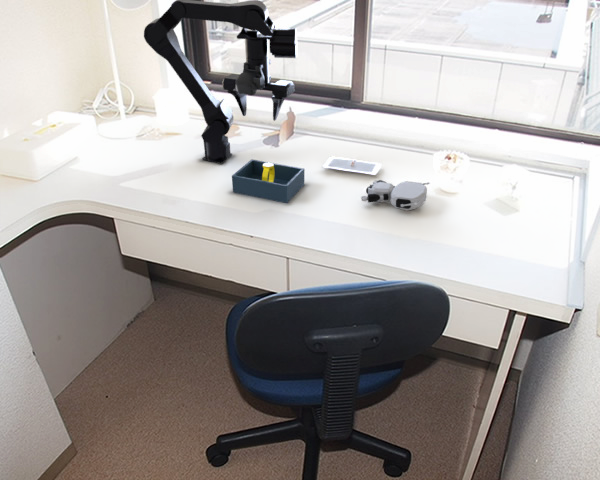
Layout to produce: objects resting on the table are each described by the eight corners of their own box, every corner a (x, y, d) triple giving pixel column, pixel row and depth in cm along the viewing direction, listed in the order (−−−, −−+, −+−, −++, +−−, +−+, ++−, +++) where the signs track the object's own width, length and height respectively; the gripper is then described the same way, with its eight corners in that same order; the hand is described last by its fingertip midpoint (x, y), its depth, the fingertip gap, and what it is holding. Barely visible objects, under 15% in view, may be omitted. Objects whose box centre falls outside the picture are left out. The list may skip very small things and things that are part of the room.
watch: (270, 192, 141) (269, 170, 137) (259, 190, 141) (258, 168, 138) (277, 182, 145) (276, 160, 142) (267, 180, 146) (266, 159, 142)
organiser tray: (232, 192, 142) (231, 175, 139) (252, 175, 150) (251, 159, 147) (287, 203, 137) (287, 186, 134) (304, 184, 145) (304, 168, 143)
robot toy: (358, 210, 136) (419, 218, 130) (358, 193, 133) (420, 201, 128) (373, 190, 145) (430, 197, 139) (373, 173, 142) (432, 180, 137)
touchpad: (375, 178, 148) (376, 171, 147) (322, 170, 152) (322, 163, 151) (381, 167, 154) (382, 160, 153) (330, 159, 158) (330, 152, 157)
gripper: (209, 61, 139) (214, 122, 148) (277, 69, 133) (278, 132, 142) (230, 50, 147) (234, 110, 156) (295, 58, 141) (295, 119, 150)
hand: (259, 117), depth 151 cm, fingers open, 9 cm apart
